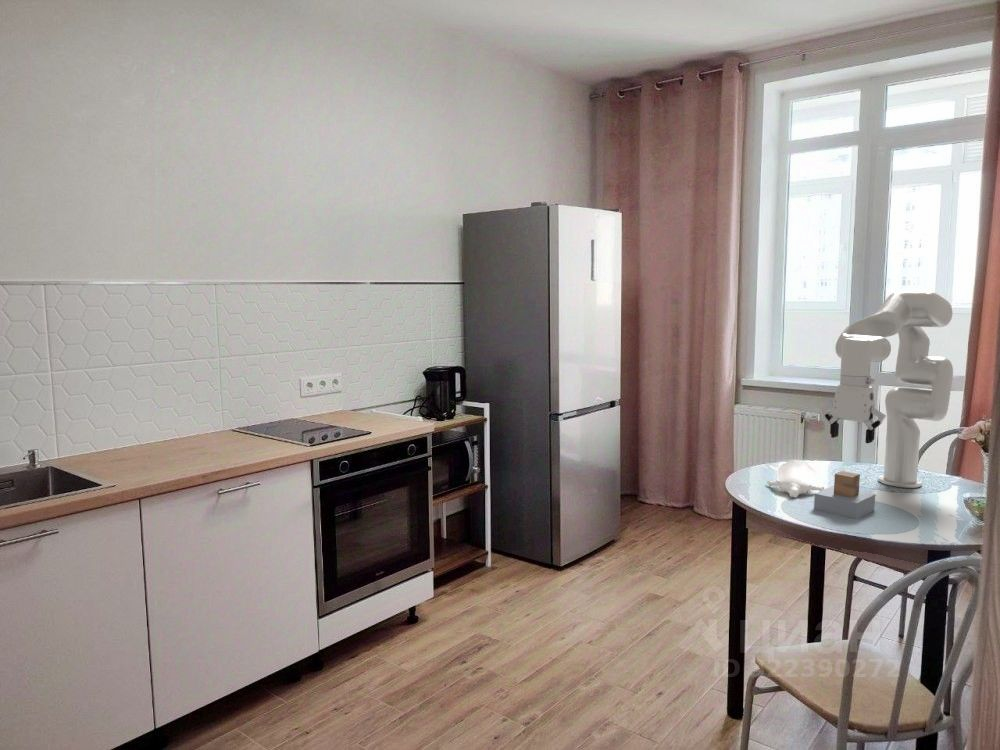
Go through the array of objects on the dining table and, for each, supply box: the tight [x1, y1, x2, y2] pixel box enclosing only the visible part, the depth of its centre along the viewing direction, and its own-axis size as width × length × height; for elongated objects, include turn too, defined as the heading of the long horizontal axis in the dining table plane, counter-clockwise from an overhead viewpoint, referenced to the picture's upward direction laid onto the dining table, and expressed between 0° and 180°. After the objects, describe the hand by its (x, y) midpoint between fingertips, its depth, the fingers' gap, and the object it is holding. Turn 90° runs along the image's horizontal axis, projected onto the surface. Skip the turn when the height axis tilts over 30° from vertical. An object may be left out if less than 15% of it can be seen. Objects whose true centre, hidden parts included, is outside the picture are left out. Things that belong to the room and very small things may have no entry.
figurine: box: [767, 459, 825, 498], centre depth 224 cm, size 17×9×25 cm
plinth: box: [813, 485, 876, 520], centre depth 203 cm, size 12×12×5 cm
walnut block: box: [833, 470, 861, 498], centre depth 202 cm, size 5×5×6 cm
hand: (851, 439), depth 201 cm, fingers open, 9 cm apart
